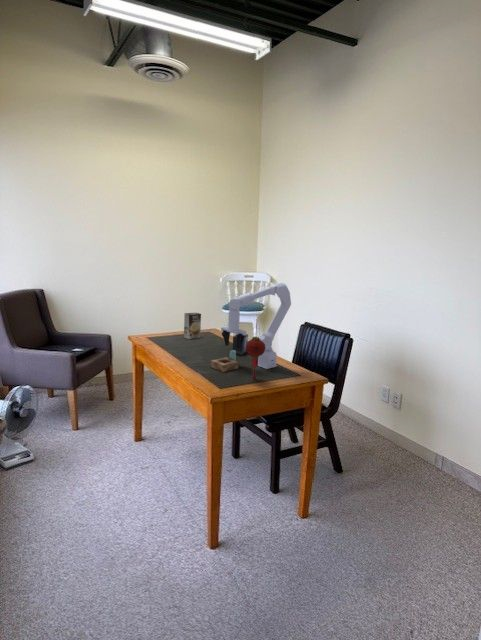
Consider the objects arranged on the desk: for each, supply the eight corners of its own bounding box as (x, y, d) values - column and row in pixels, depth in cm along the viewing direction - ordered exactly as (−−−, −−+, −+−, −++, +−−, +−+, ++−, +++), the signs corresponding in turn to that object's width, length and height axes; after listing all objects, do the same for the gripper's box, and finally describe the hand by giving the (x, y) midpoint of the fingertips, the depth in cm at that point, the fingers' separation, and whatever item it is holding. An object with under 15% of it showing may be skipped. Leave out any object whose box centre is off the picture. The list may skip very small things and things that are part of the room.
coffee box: (189, 339, 272) (189, 314, 269) (183, 337, 277) (183, 313, 274) (200, 337, 278) (201, 313, 275) (195, 335, 283) (195, 312, 280)
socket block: (238, 368, 216) (238, 361, 215) (223, 372, 209) (223, 365, 209) (225, 363, 223) (225, 357, 223) (210, 366, 217) (210, 360, 216)
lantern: (243, 375, 206) (245, 314, 200) (262, 375, 207) (265, 315, 201) (244, 381, 197) (247, 318, 191) (265, 381, 198) (268, 318, 192)
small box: (242, 355, 240) (243, 337, 238) (231, 354, 242) (232, 336, 240) (248, 351, 250) (248, 333, 248) (237, 349, 252) (238, 332, 250)
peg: (236, 363, 224) (237, 351, 222) (232, 364, 222) (232, 352, 220) (232, 362, 226) (233, 349, 225) (228, 363, 224) (228, 350, 223)
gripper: (249, 321, 219) (248, 347, 222) (226, 318, 227) (226, 342, 229) (242, 324, 213) (241, 350, 216) (219, 320, 221) (218, 345, 223)
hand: (233, 346), depth 222 cm, fingers open, 7 cm apart
